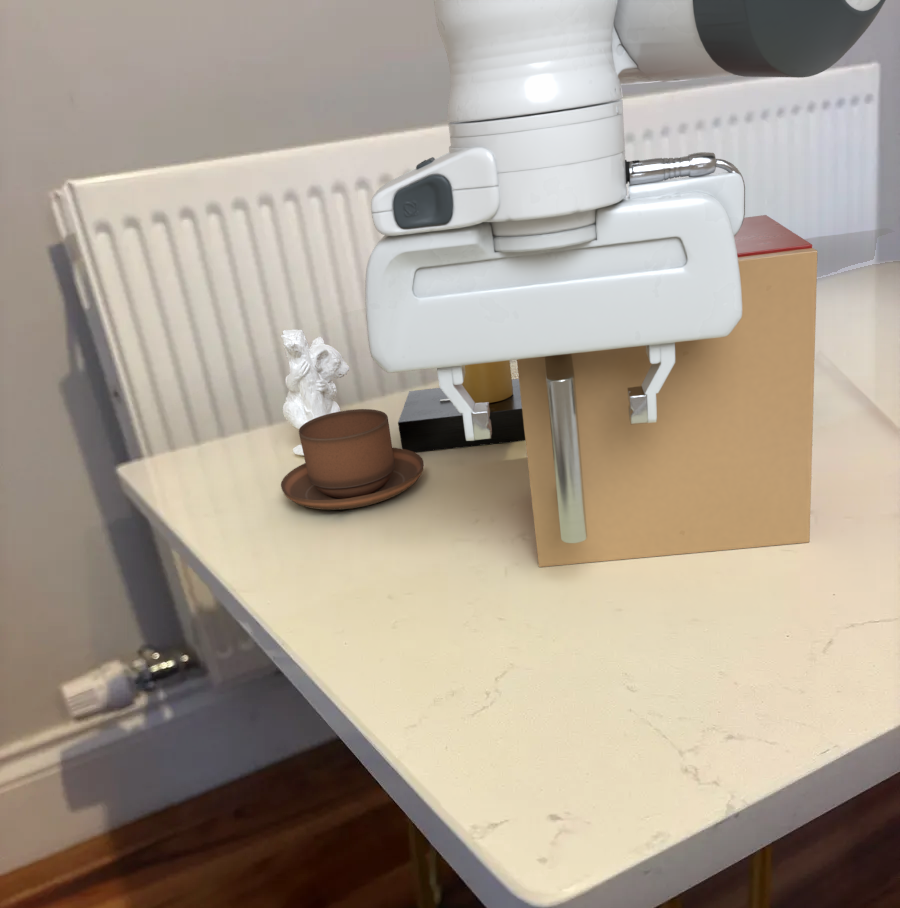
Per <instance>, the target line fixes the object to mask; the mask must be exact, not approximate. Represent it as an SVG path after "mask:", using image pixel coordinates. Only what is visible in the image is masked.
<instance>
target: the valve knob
mask: <svg viewBox="0 0 900 908" xmlns="http://www.w3.org/2000/svg"><path fill="white" fill-rule="evenodd" d="M512 377H513V376H512V367H511V360H508V361H499V362H489V363H480V364H471V365H465V376H464V381H463V383H462V385H463V387H464V388H465V390H466V391H467V392H468V394H469V395H470V396H471V398H472V399H473V401H474V402H475V403H485V402H489V403H493V402H498V401H501V400H504V399H507V398H509V397H510V396H512V395H513V386H512V379H513V378H512Z"/></svg>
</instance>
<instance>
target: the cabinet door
mask: <svg viewBox="0 0 900 908" xmlns="http://www.w3.org/2000/svg"><path fill="white" fill-rule="evenodd" d="M738 263H739V271H740V280H741V292H742V317H741V319H740V321H739V322H738V324H737V325H736V326H735V328H734V329H733V330H732V332H731V333H730V334H729V335H728V336H726V337H720V338H711V339H702V340H693V341H683V342H675V364H674V366H673V367H672V369H671V371H670V373H669V375H668V376H667V378H666V380H665V382H664V384H663V386H662V387H661V389H660V391H659V393H656V406H657V421H656V422H654V423H644V424H633V425H631V424H630V420H629V412H628V406H629V401H628V391H627V388H630V387H638V386H642V383H643V381H644V379H645V377H646V375H647V373H648V371H649V369H650V367H651V365H652V364H651V363H650V361H649V359H648V356H647V353H646V346H637V347H628V348H619V349H610V350H600V351H591V352H582V353H573V354H563V355H554V356H545V357H536V358H526V359H517V360H516V364H517V374H518V379H519V385H520V394H521V404H522V413H523V423H524V432H525V441H524V442H525V451H526V459H527V470H528V477H529V489H530V497H531V507H532V508H531V509H532V517H533V526H534V534H535V544H536V545H535V546H536V554H537V563H538V567H539V568H544V567H545V568H546V567H554V566H555V567H556V566H567V565H576V564H588V563H598V562H599V563H600V562H608V561H609V562H611V561H620V560H631V559H642V558H653V557H654V558H655V557H665V556H674V555H675V556H676V555H685V554H694V553H696V554H697V553H707V552H708V553H709V552H717V551H718V552H719V551H727V550H739V549H740V550H741V549H750V548H762V547H771V546H783V545H794V544H795V545H796V544H804V543H805V544H806V543H810V539H811V508H812V507H811V503H812V469H813V468H812V465H813V433H814V432H813V431H814V430H813V427H814V395H815V394H814V393H815V392H814V391H815V360H816V359H815V357H816V356H815V355H816V354H815V352H816V325H817V323H816V322H817V321H816V320H817V318H816V317H817V287H818V286H817V283H818V282H817V281H818V250H817V249H815V248H814V247H812V248H808V249H800V250H792V251H784V252H776V253H768V254H760V255H752V256H744V257H738Z"/></svg>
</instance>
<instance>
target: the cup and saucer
mask: <svg viewBox="0 0 900 908" xmlns="http://www.w3.org/2000/svg"><path fill="white" fill-rule="evenodd" d="M298 436H299V441H300V444H301V445H302V449H303V453H304V456H303V457H304V461H305V462H304V463H302V464H300V465H298V466H296V467H294V468H293V469H292V470H290V471H289V472H288V473H287V474H286V475H284V477H283V478H282V479H281V483H280V488H281V491H282V493H283V494H284V496H285V497H286V499H288V500H291V501H292V502H293V503H295V504H297V505H299V506H302V507H304V508H309V509H315V510H324V511H325V510H327V511H334V510H348V509H355V508H362V507H367V506H370V505H374V504H377V503H381V502H384V501H386V500H389V499H392V498H394V497H396V496H397V495H400V494H402V493H403V492H405V491H406V490H408V489H409V488H411V487H412V486H413V485H414V484H415V483H416V482H417V481H418V479H419V478H420V477H421V476H422V474H423V473H424V466H425V465H424V463H425V462H424V459H423V457H422V456H421V455H420V454H418V452H413V451H410V450H406V449H402V448H401V447H400V448H399V447H393V442H392V436H391V429H390V424H389V416H388V415H387V413H385V412H384V411H382V410H377V409H373V408H372V409H370V408H358V409H348V410H347V409H346V410H340V412H335V413H330V414H327V415H323V416H320V417H317V418H315V419H312V420H310V421H308V422H306V423H305V424H303V425H302V426H301V427H300V429H298Z"/></svg>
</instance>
